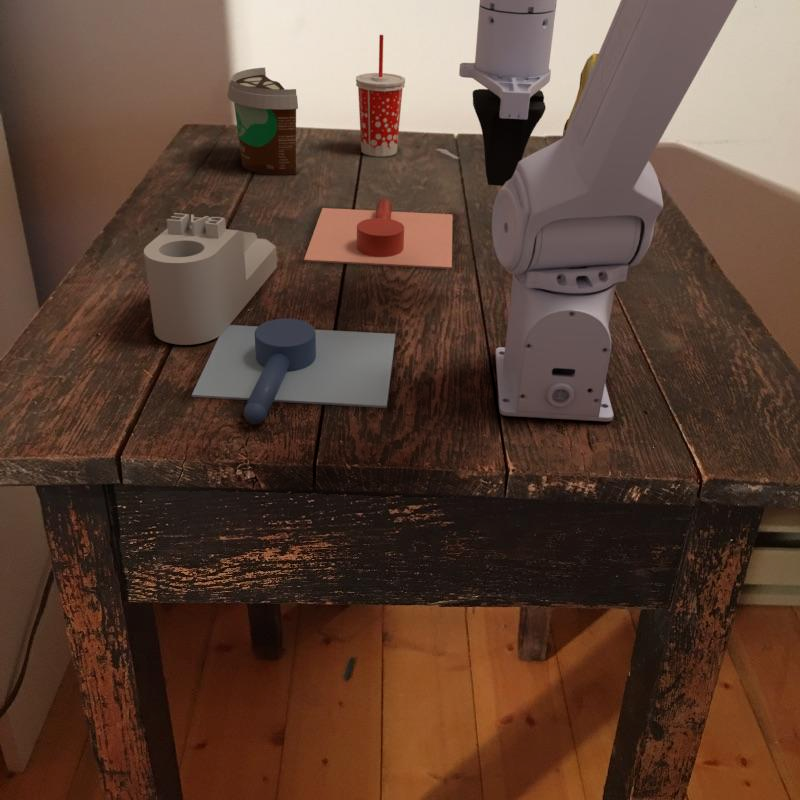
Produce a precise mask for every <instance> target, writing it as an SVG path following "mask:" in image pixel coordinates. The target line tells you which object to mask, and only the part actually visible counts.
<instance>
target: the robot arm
mask: <svg viewBox="0 0 800 800" xmlns="http://www.w3.org/2000/svg"><path fill="white" fill-rule="evenodd" d="M737 2H738V0H620V2H619V5H618V7H617V9H616V11H615V14H614V17H613V19H612V21H611V23H610V26H609V28H608V30H607V33H606V35H605V38H604V40H603V42H602V44H601V47H600V49H599V51H598V53H597V54H598V56H597V59H596V61H595V63H594V66H593V68H592V71H591V73H590V75H589V78H588V80H587V82H586V85H585V87H584V90H583V92H582V94H581V97H580V99H579V101H578V104H577V106H576V108H575V111H574V113H573V116H572V118H571V120H570V123H569V125H568V127H567V130H566V132H565V131H564V133H565V135H564V137H563V136H562V138H560V139H559V140H558V139H557V141H555V142H553V143H551V144H549V145H547V146H544V147H543V148H541V149H539V150H537V151H535V152H533V153H532V154H529V155H528V156H526V157H523V156H524V153H525V150H526V148H527V145H528V142H529V140H530V138H531V135H532V133H533V131H534V130H535V128H536V127H537V125H538V124H539V122H540V120H541V119H542V118H543V116H544V113H545V111H546V109H547V107H546V103H545V101H544V100H545V95H544V92H543V91H542V89H543V88H544V87H546V85H548V84H549V83H550V81H551V74H552V70H551V68H550V61H551V54H552V53H551V52H552V44H553V36H554V27H555V20H556V19H555V18H556V11H557V3H558V0H479V6H478V20H477V31H476V43H475V55H474V62H461V63H459V70H458V71H459V73H458V75H459V77H461V78H466V79H467V78H468V79H469V78H470V79H472V80H474V81H476V82H477V83H479V84H480V85H481V86H483V87H484V88H478V89H474V90H472V106H473V109H474V112H475V114H476V117H477V119H478V122H479V126H480V129H481V135H482V137H483V138H482V139H483V153H484V165H485V166H484V167H485V175H486V181H487V185H488V186H501V188H500V190H498V192H497V194H496V196H495V199H494V202H493V206H492V212H491V213H492V215H491V236H492V245H493V248H494V252H495V255H496V258H497V260H498V262H499V263H500V265H502V267H503V268H504V269H505V271H506V272H507V273H508V274H510V275H512V278H511V287H510V288H511V289H510V298H509V308H508V318H507V327H506V334H505V346H504V347H503V346H500V347H499V346H498V347H497V348H495V351H494V352H495V353H494V357H495V367H496V369H495V370H496V383H497V396H498V397H497V399H498V410H499V411H498V412H499V413H500V415H502V416H503V417H517V418H535V419H536V418H537V419H551V420H553V419H554V420H569V421H571V420H573V421H590V422H607V423H609V422H611V421H613V420H614V416H615V415H614V410H613V407H612V404H611V399H610V396H609V392H608V388H607V384H606V379H607V375H608V374H607V373H608V368H609V363H610V357H611V351H612V336H611V332H610V328H609V326H610V319H611V313H612V308H613V303H614V297H615V290H616V286H617V284H618V283H623V282H627V278H628V271H629V268H633V267H635V266H637V265H638V264H640V263H641V261H643V259H644V257H645V255H646V254H647V252H648V251H649V248H650V246H651V244H652V241H653V237H654V232H655V225H656V222H657V220H658V219H657V218H658V217H659V215H660V213H661V212H662V210H663V208H664V200H663V194H662V187H661V184H660V180H659V179H658V175H657V172H656V170H655V169H654V167H653V165H652V164H651V162H650V160H651V158H652V155H653V154H654V152H655V150H656V148H657V146H658V145H659V143H660V141H661V139H662V138H663V136H664V134H665V132H666V130H667V128H668V126H669V125H670V123H671V121H672V119H673V118H674V115H675V114H676V112H677V110H678V109H679V106H680V105H681V103H682V101H683V99H684V98H685V96H686V94H687V92H688V90H689V89H690V87H691V85H692V83H693V82H694V80H695V78H696V76H697V74H698V72H699V71H700V69H701V67H702V65H703V63H704V62H705V60H706V58H707V56H708V54H709V52H710V51H711V49H712V47H713V45H714V43H715V41H717V38H718V36H719V34H720V33H721V31H722V29H723V27H724V25H725V23H726V22H727V20H728V18H729V16H730V15H731V13H732V11H733V10H734V8H735V5H736V4H737Z"/></svg>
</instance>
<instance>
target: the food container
mask: <svg viewBox="0 0 800 800" xmlns="http://www.w3.org/2000/svg"><path fill="white" fill-rule="evenodd" d="M227 99H228V100H229V101H231V102H233V107H234V115H235V121H236V128H237V136H238V144H239V151H240V159H241V165H242V167H243V168H245V169H246V170H248V171H250V172H254V173H257V174H263V175H274V176H289V175H291V176H292V175H296V174H297V110H298V109H299V102H298V101H299V100H298V95H297V88H289V89H285V88H284V87H283V85H282V84H281V83H280V82H279V81H276V80H272V79H270V78H269V77H267V75H266V67H255V68H249V69H244V70H240V71H237V72H236V73H234V74H232V75H231V79H230V81H229V83H228V89H227Z"/></svg>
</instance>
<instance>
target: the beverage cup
mask: <svg viewBox="0 0 800 800" xmlns="http://www.w3.org/2000/svg"><path fill="white" fill-rule="evenodd" d="M378 38H379V42H378V43H379V44H378V45H379V46H378V72H369V73H362V74H359V75H357V76H355V82H356V83H355V86H356V87H357V90H358V91H357V94H358V107H359V108H358V111H359V113H358V114H359V132H360V133H359V134H360V150H361V151H360V152H361V153H362V154H363V155H367V156H369V157H370V156H371V157H390V156H393V155H396V154H397V153H398V144H399V131H400V123H401V122H400V121H401V110H402V101H403V100H402V98H403V89H404V88H405V87H406V86H405V84H406V78H405V77H404V76H402V75H399V74H395V73H387V72H383V70H384V68H383V67H384V34H379V37H378Z"/></svg>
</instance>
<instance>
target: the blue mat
mask: <svg viewBox="0 0 800 800" xmlns="http://www.w3.org/2000/svg"><path fill="white" fill-rule="evenodd" d="M258 326H259V325H258ZM258 326H256V325H239V324H238V325H237V324H230V325H229V326H228V328H227V329H226V330H225V331H224V332H223V334H221V335H220V336H219V337H217V340H216V342H215V344H214V347H213V349H212V351H211V353H210V356H209V357H208V359H207V362H206V364H205V366H204V367H203V370H202V372H201V374H200V376H199V378H198V380H197V383H196V385H195V387H194V389H193V391H192V394H191V398H204V399H219V400H220V399H221V400H237V401H248V400H249V398H250V396H251V394H252V392H253V390H254V387H255V385H256V383H257V381H258V379H259V377H260V375H261V373H262V371H263V369H264V367H263V366H261V365H260V364H259V363H258V362H257V360H256V351H255V330H256V329H257V327H258ZM315 332H316V358H315V360H314V362H313V363H312V364H311V365H309V366H308V367H306V368H303V369H300V370H296V371H287V372H286V374H285V376H284V379H283V381H282V383H281V385H280V388H279V390H278V392H277V394H276V397H275V399H274V401H273V403H274V402H275V403H289V404H290V403H291V404H305V405H307V404H308V405H324V406H325V405H327V406H341V407H342V406H344V407H358V408H359V407H362V408H378V409H380V408H381V409H388V401H389V392H390V384H391V377H392V369H393V368H392V367H393V359H394V354H395V353H394V351H395V344H396V336H397V335H396V333H387V332H386V333H383V332H367V331H348V330H330V329H315Z"/></svg>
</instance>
